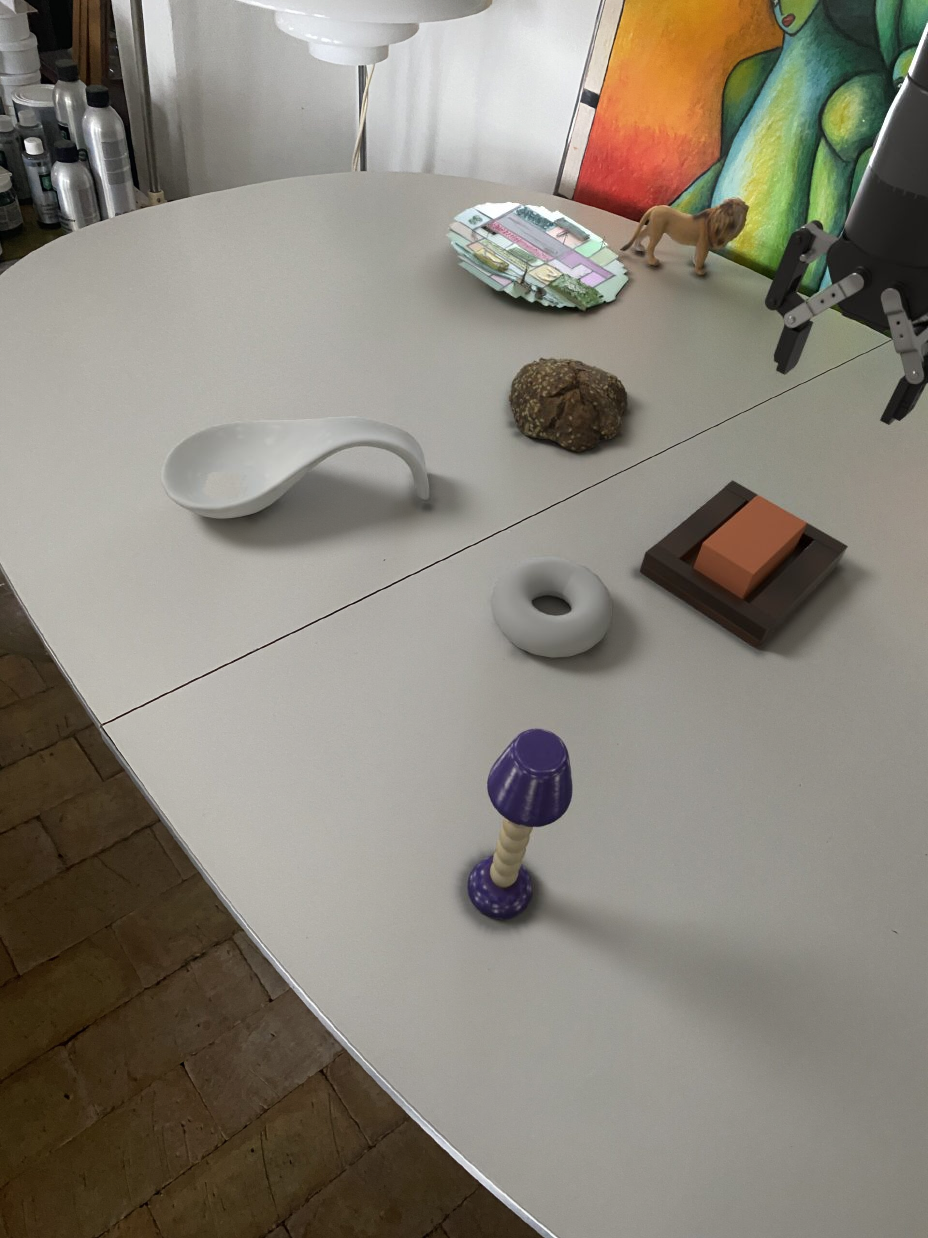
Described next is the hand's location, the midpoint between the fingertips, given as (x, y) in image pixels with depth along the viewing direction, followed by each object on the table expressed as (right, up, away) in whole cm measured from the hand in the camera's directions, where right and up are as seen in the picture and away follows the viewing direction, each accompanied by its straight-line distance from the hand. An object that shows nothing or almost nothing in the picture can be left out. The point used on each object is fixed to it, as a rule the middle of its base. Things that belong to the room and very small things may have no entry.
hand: (835, 393), depth 65 cm
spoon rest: (-43, -5, +16) cm, 46 cm away
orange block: (-3, -12, +12) cm, 17 cm away
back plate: (-3, -12, +13) cm, 18 cm away
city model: (-19, +28, +46) cm, 57 cm away
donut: (-21, -17, +8) cm, 28 cm away
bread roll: (-17, +4, +26) cm, 32 cm away
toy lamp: (-25, -35, -8) cm, 43 cm away
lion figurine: (0, +30, +49) cm, 58 cm away
